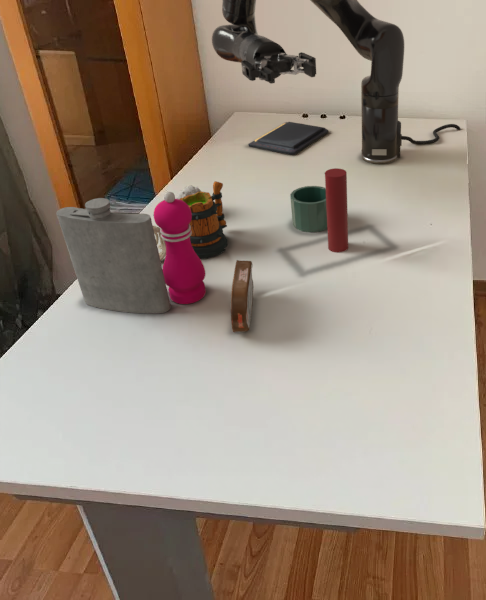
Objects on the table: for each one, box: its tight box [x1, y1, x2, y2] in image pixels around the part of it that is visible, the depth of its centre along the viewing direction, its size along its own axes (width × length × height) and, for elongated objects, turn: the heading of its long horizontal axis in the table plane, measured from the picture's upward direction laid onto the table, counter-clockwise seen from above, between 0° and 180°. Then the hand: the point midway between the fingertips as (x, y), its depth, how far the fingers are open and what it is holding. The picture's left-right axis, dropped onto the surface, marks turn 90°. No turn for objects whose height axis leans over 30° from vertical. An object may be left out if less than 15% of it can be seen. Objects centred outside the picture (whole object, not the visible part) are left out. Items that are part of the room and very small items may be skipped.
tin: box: [230, 259, 254, 333], centre depth 104 cm, size 15×3×8 cm, turn 5°
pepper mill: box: [153, 191, 207, 305], centre depth 106 cm, size 7×7×20 cm
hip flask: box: [55, 197, 172, 314], centre depth 103 cm, size 16×4×20 cm, turn 79°
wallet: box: [248, 121, 330, 156], centre depth 175 cm, size 20×2×15 cm
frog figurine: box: [176, 185, 202, 200], centre depth 135 cm, size 6×7×7 cm
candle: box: [324, 167, 349, 253], centre depth 120 cm, size 4×4×16 cm
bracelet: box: [152, 224, 166, 262], centre depth 118 cm, size 4×8×8 cm, turn 150°
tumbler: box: [289, 185, 327, 233], centre depth 132 cm, size 9×9×7 cm
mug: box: [180, 180, 229, 260], centre depth 124 cm, size 13×10×12 cm
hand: (293, 74), depth 120 cm, fingers open, 8 cm apart
